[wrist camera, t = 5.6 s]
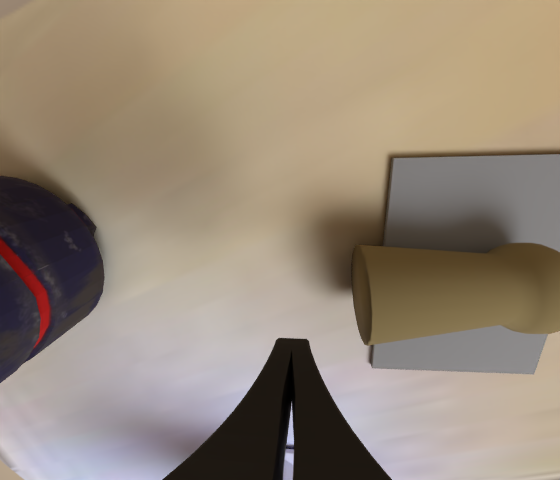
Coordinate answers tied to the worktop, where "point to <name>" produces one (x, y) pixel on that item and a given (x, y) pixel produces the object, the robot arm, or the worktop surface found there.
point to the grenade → (42, 270)
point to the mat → (471, 244)
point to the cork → (454, 291)
